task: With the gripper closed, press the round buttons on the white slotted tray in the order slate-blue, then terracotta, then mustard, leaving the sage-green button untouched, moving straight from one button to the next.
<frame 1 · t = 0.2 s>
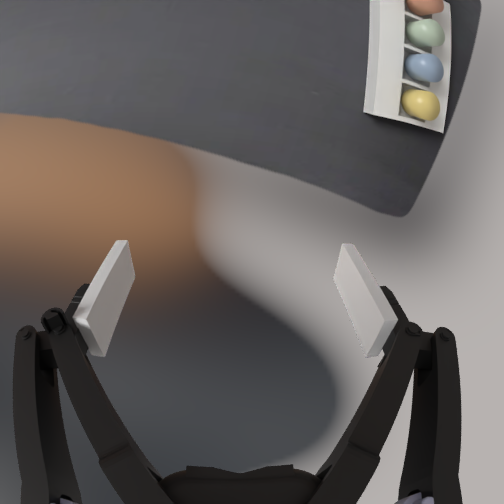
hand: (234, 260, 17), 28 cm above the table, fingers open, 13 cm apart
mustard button: (420, 104, 31), point 5 cm above the table, slide at 0.0 cm
terracotta button: (424, 1, 21), point 5 cm above the table, slide at 0.0 cm
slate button: (423, 67, 28), point 5 cm above the table, slide at 0.0 cm
sage button: (425, 33, 25), point 5 cm above the table, slide at 0.0 cm
white slotted tray: (406, 51, 31), on the table
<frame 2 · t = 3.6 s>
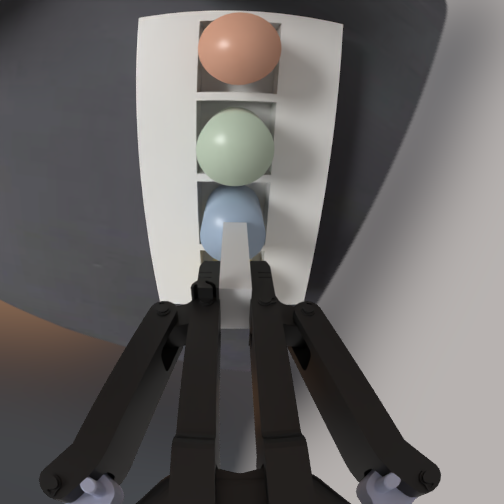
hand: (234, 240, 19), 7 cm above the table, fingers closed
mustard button: (232, 289, 24), point 5 cm above the table, slide at 0.0 cm
terracotta button: (239, 52, 14), point 5 cm above the table, slide at 0.0 cm
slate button: (232, 221, 21), point 5 cm above the table, slide at 0.7 cm, touching gripper
sage button: (235, 142, 17), point 5 cm above the table, slide at 0.0 cm
white slotted tray: (233, 164, 23), on the table
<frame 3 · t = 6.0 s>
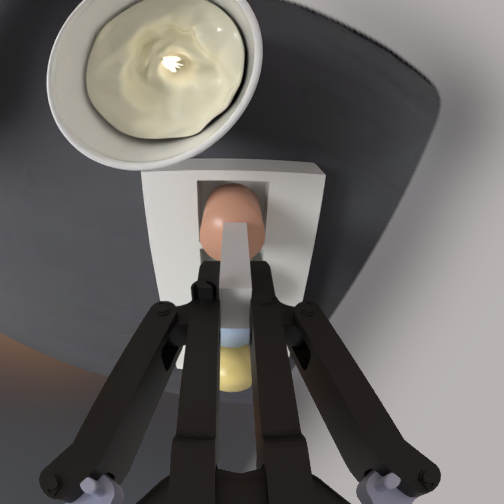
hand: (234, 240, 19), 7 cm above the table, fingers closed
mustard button: (231, 366, 30), point 5 cm above the table, slide at 0.0 cm
terracotta button: (232, 221, 21), point 5 cm above the table, slide at 0.4 cm, touching gripper
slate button: (231, 318, 29), point 3 cm above the table, slide at 2.1 cm
sage button: (231, 287, 24), point 5 cm above the table, slide at 0.0 cm
white slotted tray: (231, 276, 30), on the table
candle holder: (187, 72, 19), on the table
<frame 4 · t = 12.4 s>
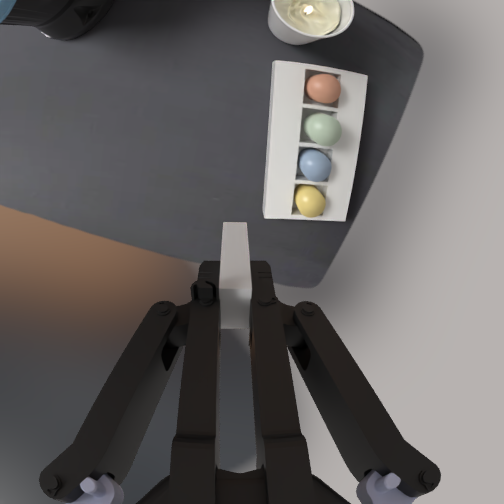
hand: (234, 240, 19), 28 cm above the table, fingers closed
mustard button: (308, 199, 45), point 3 cm above the table, slide at 2.1 cm
terracotta button: (321, 88, 35), point 3 cm above the table, slide at 2.1 cm
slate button: (313, 163, 41), point 3 cm above the table, slide at 2.1 cm
sage button: (321, 128, 36), point 5 cm above the table, slide at 0.0 cm
white slotted tray: (310, 141, 42), on the table
candle holder: (294, 22, 31), on the table
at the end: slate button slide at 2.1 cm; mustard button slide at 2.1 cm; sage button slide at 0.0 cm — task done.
